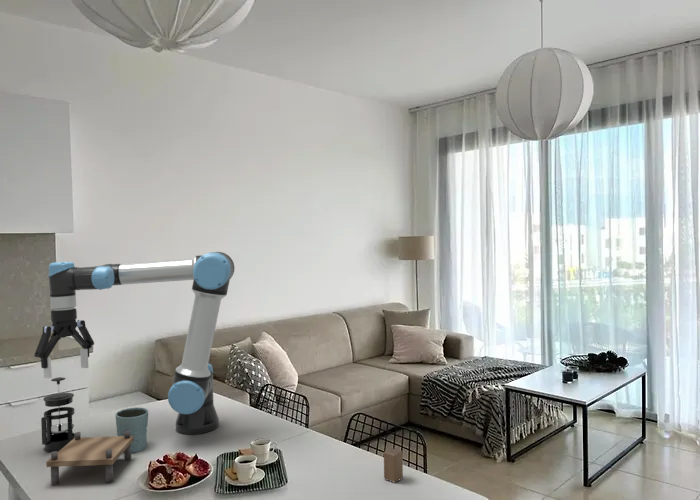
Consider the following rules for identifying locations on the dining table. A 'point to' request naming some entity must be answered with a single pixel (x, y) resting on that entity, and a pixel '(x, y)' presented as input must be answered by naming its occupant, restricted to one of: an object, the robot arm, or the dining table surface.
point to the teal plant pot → (133, 426)
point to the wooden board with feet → (91, 453)
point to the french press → (59, 430)
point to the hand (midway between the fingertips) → (66, 372)
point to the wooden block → (393, 464)
